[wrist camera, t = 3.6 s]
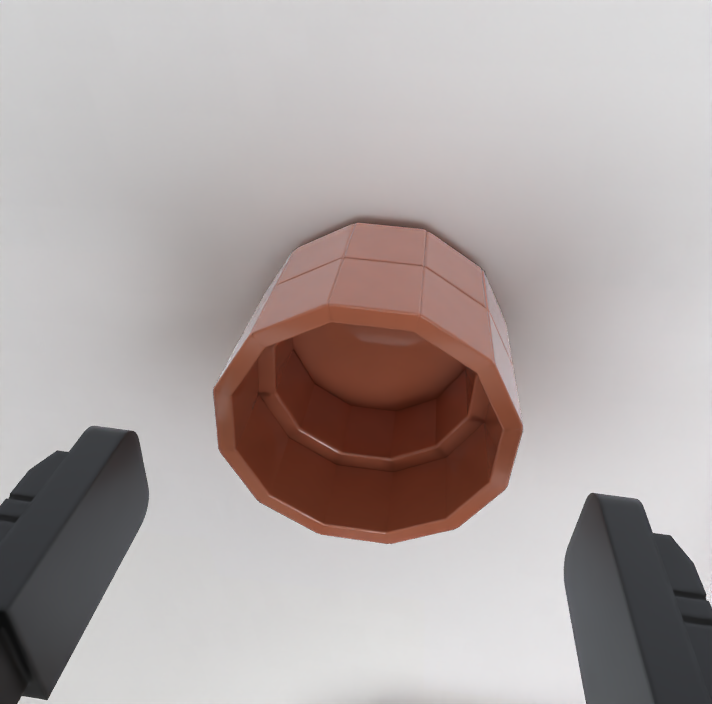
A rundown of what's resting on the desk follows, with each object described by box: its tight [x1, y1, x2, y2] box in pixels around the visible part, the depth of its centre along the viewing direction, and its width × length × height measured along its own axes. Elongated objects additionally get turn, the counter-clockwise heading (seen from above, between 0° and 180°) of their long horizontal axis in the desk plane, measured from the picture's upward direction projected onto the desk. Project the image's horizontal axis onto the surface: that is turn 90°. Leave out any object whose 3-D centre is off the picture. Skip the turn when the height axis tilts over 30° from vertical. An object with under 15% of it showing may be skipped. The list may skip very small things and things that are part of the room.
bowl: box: [213, 222, 523, 544], centre depth 14 cm, size 6×6×4 cm
